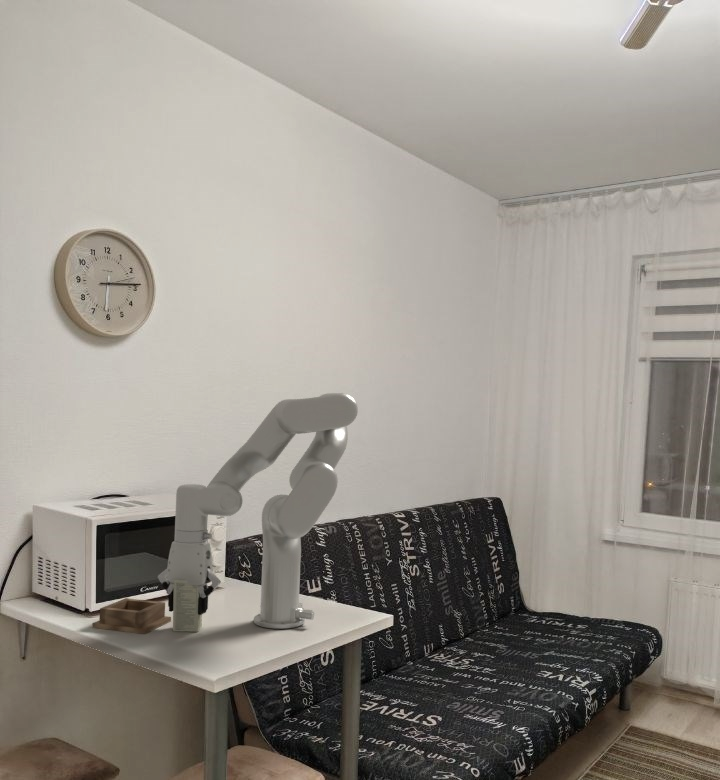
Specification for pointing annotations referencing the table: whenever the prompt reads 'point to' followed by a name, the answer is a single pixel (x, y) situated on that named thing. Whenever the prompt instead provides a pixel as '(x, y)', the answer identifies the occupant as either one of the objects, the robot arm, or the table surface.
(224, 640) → the table surface
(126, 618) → the socket block
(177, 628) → the skincare box
